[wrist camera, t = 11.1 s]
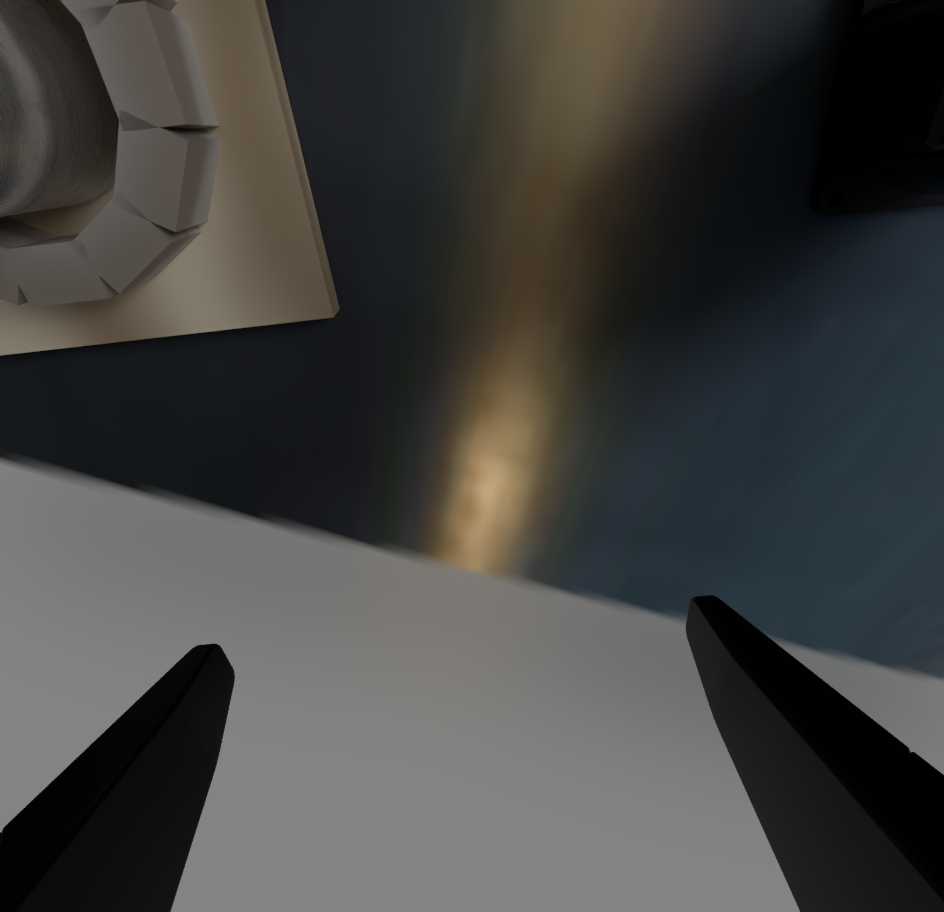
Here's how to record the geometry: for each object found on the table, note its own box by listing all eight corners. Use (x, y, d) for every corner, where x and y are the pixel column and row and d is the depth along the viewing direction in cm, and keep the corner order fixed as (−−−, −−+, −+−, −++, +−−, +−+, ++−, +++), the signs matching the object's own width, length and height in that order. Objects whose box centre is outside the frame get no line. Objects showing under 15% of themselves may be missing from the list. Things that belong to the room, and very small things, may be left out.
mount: (185, -324, 10) (100, -474, 8) (339, 308, 17) (319, 337, 15) (-415, -233, 11) (-683, -349, 8) (-31, 351, 18) (-112, 386, 15)
